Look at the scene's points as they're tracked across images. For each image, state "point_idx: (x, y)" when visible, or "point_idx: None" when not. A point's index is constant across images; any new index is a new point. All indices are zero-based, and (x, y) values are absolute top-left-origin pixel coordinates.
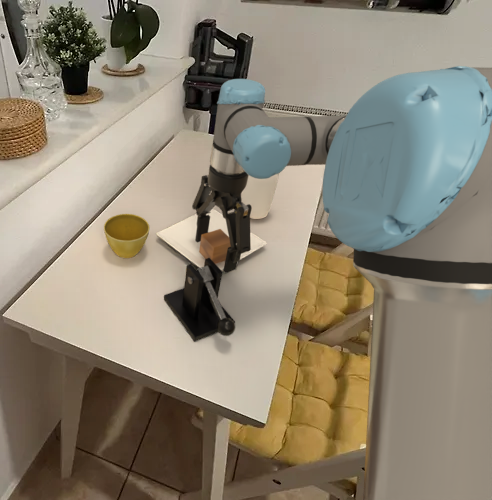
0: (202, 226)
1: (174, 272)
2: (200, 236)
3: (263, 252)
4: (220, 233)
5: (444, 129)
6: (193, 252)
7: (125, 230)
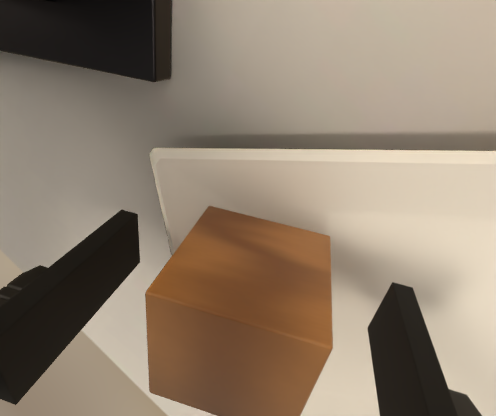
0: (408, 414)
1: (344, 18)
2: (391, 326)
3: None
4: (249, 411)
5: None
6: (374, 223)
7: None
